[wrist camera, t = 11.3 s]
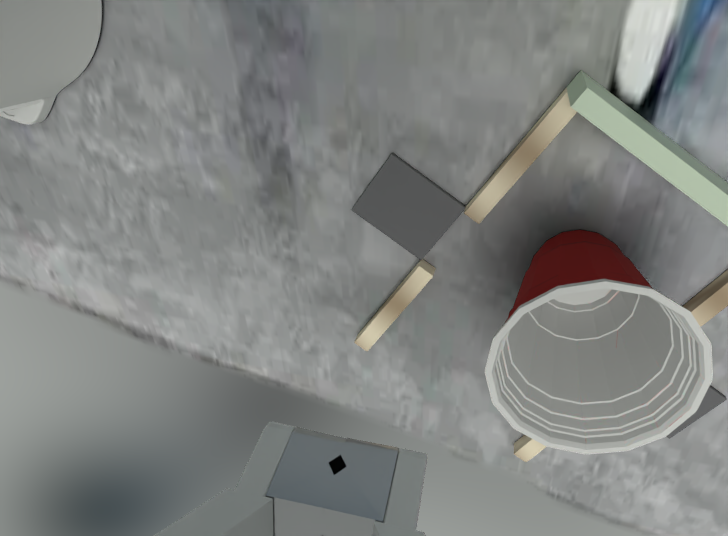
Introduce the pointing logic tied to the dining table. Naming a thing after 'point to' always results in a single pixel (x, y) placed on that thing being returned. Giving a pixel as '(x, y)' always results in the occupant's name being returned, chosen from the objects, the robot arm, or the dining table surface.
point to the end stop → (649, 145)
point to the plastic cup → (595, 352)
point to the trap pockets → (435, 226)
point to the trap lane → (532, 145)
